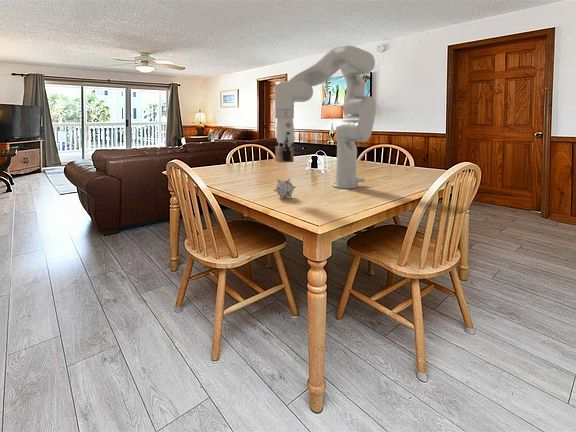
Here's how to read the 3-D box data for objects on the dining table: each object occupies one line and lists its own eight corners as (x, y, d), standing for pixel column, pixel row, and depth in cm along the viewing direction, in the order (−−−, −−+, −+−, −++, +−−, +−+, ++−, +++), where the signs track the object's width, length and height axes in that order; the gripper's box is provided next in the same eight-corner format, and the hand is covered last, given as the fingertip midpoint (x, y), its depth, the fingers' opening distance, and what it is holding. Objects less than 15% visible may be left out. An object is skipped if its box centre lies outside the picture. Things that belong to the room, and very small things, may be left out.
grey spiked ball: (288, 207, 153) (292, 191, 145) (269, 199, 154) (273, 183, 146) (295, 193, 159) (300, 177, 151) (277, 186, 159) (281, 170, 152)
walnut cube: (288, 160, 153) (289, 146, 151) (293, 162, 147) (293, 147, 145) (275, 160, 151) (275, 146, 149) (279, 162, 145) (279, 147, 144)
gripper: (300, 114, 137) (299, 162, 142) (286, 114, 153) (286, 157, 158) (281, 114, 135) (281, 162, 140) (269, 114, 151) (270, 157, 156)
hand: (284, 159), depth 149 cm, fingers closed on walnut cube, 6 cm apart
